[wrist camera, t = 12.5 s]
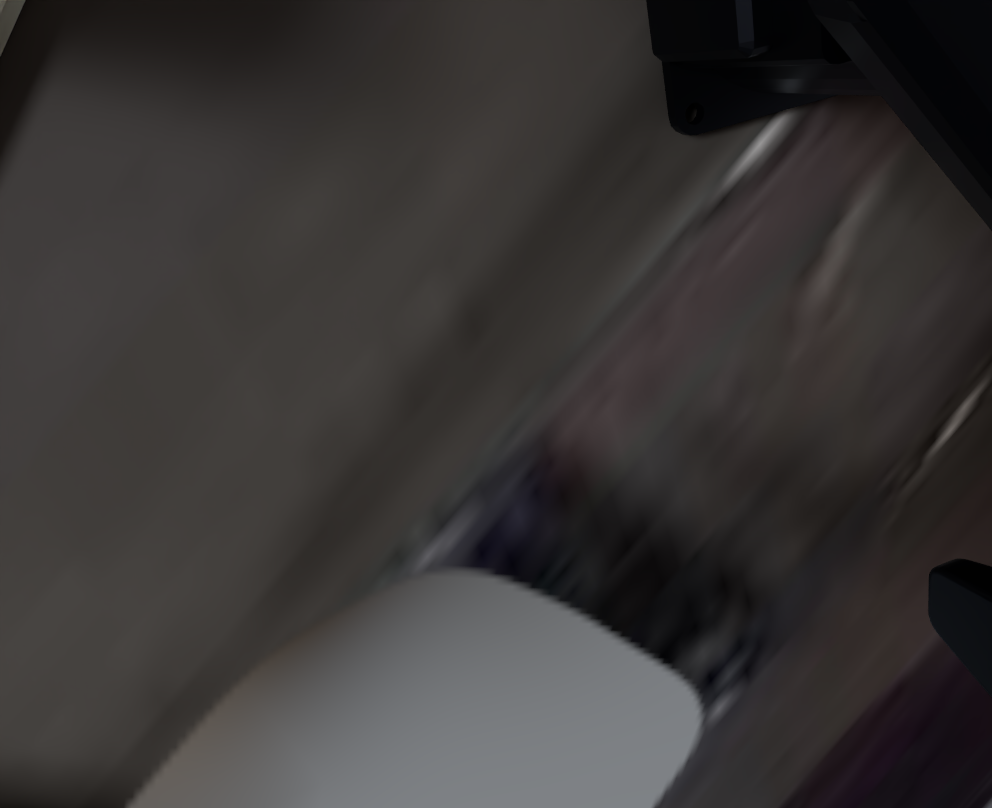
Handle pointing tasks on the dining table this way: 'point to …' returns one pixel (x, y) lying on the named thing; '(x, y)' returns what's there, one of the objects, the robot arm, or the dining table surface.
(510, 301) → the dining table surface
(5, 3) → the board
